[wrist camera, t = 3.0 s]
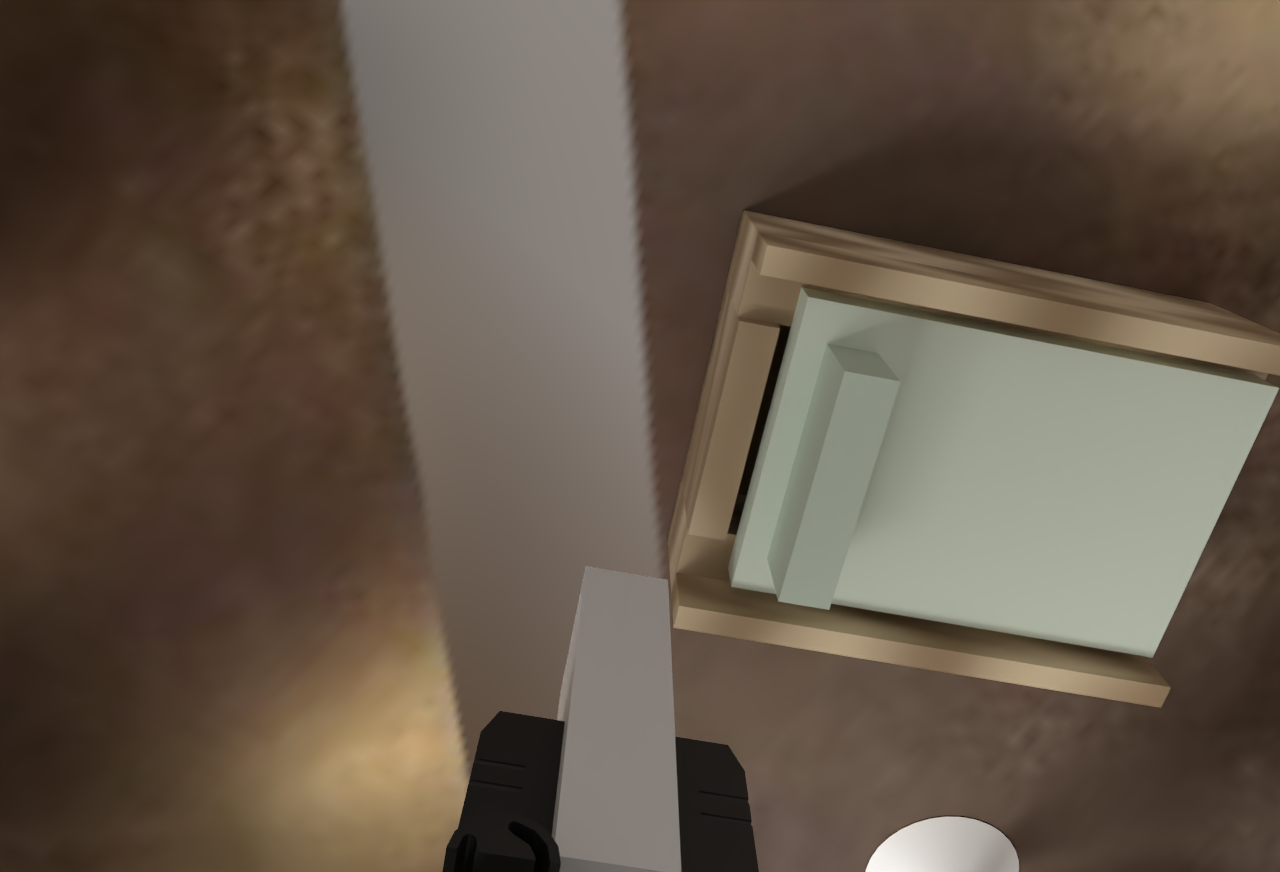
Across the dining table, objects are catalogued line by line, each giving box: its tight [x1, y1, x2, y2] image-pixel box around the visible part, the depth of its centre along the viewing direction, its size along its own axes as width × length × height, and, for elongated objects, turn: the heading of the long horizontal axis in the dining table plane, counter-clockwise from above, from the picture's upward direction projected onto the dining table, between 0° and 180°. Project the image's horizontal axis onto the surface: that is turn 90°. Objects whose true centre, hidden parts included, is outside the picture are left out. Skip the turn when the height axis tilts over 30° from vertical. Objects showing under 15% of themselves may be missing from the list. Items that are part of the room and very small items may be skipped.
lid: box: [728, 287, 1279, 658], centre depth 28 cm, size 14×9×4 cm
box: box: [668, 210, 1280, 708], centre depth 31 cm, size 16×12×6 cm
